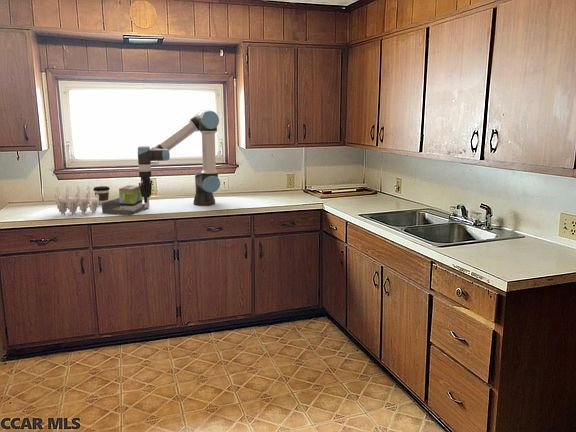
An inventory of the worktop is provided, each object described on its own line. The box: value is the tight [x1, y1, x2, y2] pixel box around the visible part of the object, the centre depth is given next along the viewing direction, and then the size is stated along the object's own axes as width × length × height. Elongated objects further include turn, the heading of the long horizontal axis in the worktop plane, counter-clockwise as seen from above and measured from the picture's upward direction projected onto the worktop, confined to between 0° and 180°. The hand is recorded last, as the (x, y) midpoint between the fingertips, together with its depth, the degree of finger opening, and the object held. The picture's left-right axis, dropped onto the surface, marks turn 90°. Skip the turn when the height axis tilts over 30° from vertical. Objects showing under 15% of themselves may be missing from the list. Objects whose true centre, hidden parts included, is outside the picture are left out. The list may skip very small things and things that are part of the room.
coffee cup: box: [92, 185, 110, 206], centre depth 332 cm, size 11×11×12 cm
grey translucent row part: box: [54, 185, 99, 216], centre depth 301 cm, size 18×18×25 cm
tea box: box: [118, 184, 144, 211], centre depth 309 cm, size 15×10×15 cm, turn 178°
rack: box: [101, 197, 150, 216], centre depth 311 cm, size 20×22×7 cm
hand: (147, 207), depth 307 cm, fingers closed
